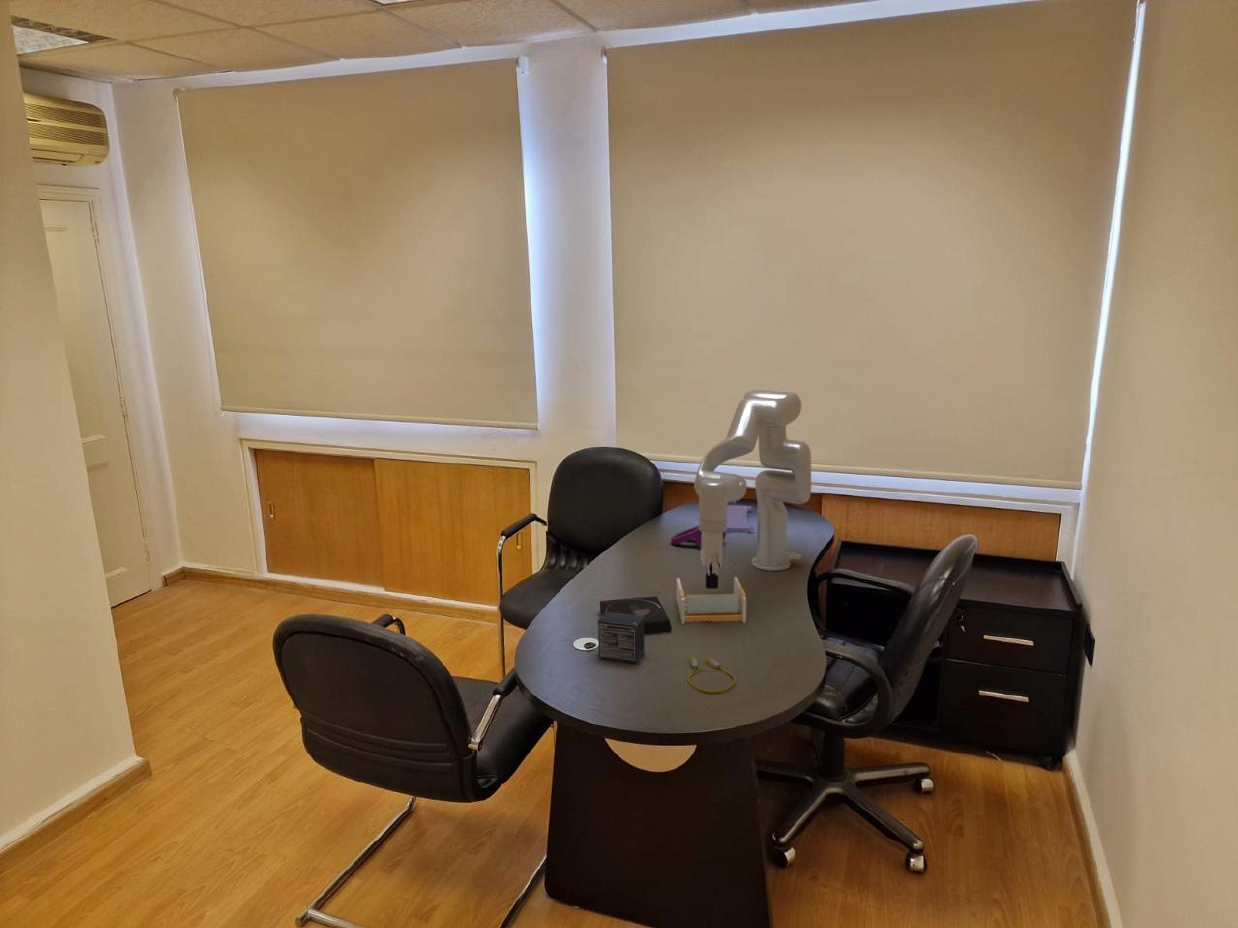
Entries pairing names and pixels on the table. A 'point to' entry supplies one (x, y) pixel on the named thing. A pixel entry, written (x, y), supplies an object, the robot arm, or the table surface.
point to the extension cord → (713, 664)
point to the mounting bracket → (690, 536)
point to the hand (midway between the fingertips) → (711, 587)
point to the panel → (712, 604)
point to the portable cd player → (641, 612)
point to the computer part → (738, 519)
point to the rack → (741, 610)
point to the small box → (621, 637)
